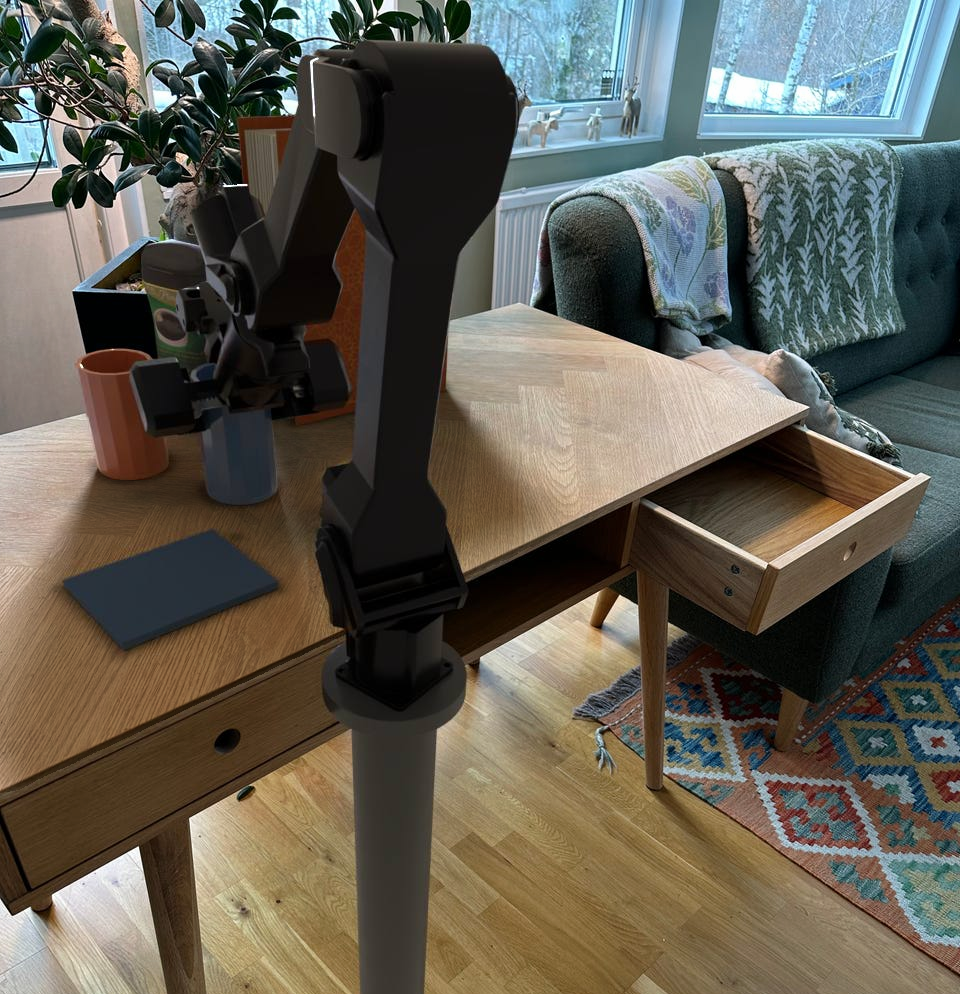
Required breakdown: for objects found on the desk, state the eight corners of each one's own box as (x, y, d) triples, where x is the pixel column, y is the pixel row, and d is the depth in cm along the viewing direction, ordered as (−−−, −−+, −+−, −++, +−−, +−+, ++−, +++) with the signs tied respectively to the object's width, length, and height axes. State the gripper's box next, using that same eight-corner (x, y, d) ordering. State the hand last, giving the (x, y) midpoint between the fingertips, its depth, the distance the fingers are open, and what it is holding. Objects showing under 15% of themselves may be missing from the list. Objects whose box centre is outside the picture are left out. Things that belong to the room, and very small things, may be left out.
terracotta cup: (183, 464, 93) (167, 361, 86) (126, 487, 88) (105, 380, 82) (140, 444, 96) (122, 343, 89) (83, 465, 91) (60, 361, 85)
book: (296, 425, 102) (276, 130, 84) (262, 401, 107) (237, 117, 89) (452, 388, 114) (465, 123, 96) (415, 367, 119) (421, 111, 101)
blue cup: (292, 487, 90) (283, 373, 83) (240, 512, 86) (226, 394, 78) (244, 466, 93) (232, 354, 86) (192, 489, 89) (174, 373, 82)
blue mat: (213, 535, 82) (212, 528, 82) (278, 588, 76) (278, 580, 76) (63, 587, 74) (61, 579, 74) (123, 651, 68) (122, 642, 68)
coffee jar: (261, 411, 105) (246, 245, 94) (215, 433, 99) (194, 260, 88) (199, 391, 108) (177, 229, 97) (151, 412, 102) (122, 242, 91)
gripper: (335, 249, 77) (297, 334, 91) (112, 265, 69) (108, 357, 83) (373, 368, 76) (329, 436, 90) (154, 399, 68) (143, 468, 82)
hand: (231, 422), depth 87 cm, fingers closed on blue cup, 7 cm apart
